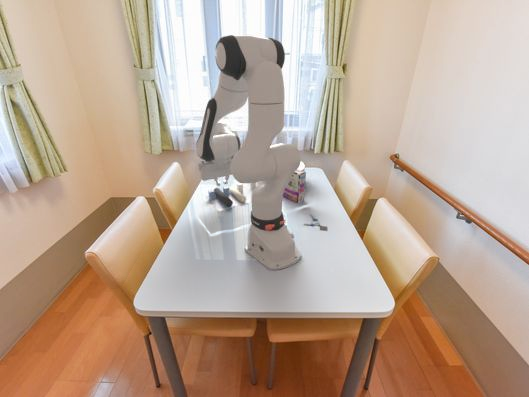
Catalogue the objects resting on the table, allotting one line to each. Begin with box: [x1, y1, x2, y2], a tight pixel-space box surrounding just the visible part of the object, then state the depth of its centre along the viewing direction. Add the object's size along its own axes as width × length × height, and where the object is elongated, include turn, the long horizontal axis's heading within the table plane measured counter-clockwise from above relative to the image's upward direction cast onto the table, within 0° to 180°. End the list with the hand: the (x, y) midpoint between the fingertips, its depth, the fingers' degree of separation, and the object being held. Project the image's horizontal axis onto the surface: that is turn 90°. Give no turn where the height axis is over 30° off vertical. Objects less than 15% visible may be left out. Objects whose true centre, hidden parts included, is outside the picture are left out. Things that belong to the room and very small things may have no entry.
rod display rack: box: [205, 182, 257, 212], centre depth 137 cm, size 18×28×6 cm, turn 122°
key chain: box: [303, 214, 329, 232], centre depth 117 cm, size 14×8×1 cm, turn 27°
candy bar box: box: [283, 169, 307, 204], centre depth 133 cm, size 11×5×16 cm, turn 42°
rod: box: [228, 186, 246, 202], centre depth 137 cm, size 14×3×3 cm, turn 32°
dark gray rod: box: [213, 187, 233, 207], centre depth 133 cm, size 16×4×4 cm, turn 32°
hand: (222, 184), depth 129 cm, fingers open, 2 cm apart
